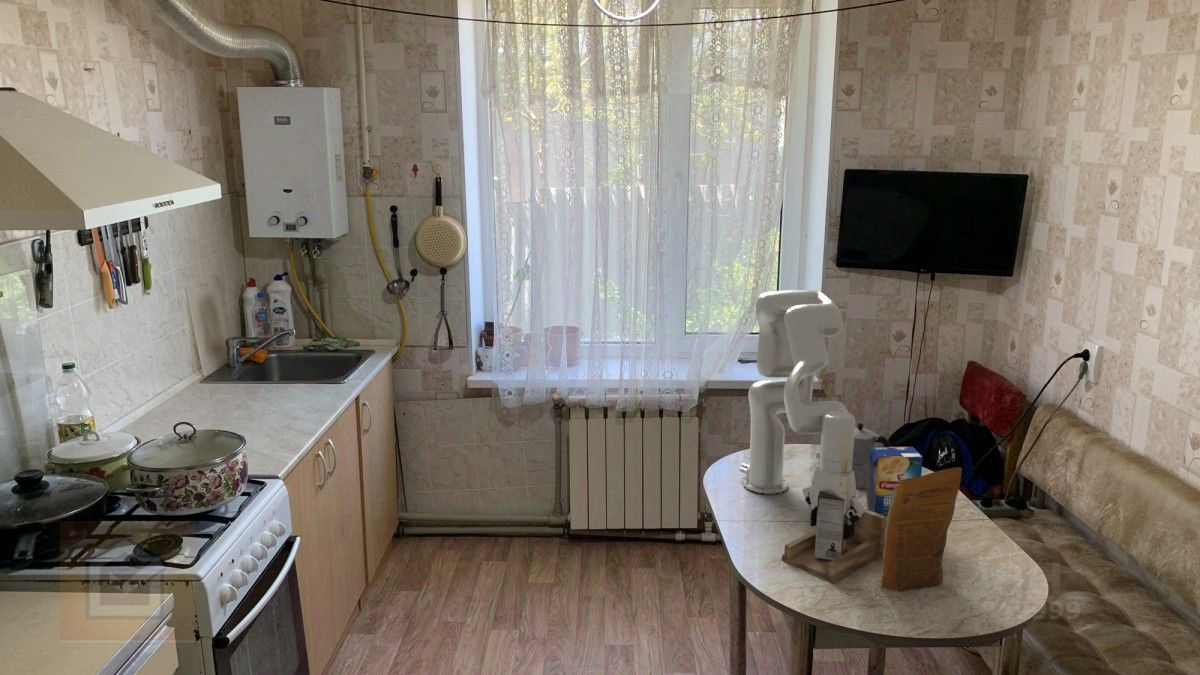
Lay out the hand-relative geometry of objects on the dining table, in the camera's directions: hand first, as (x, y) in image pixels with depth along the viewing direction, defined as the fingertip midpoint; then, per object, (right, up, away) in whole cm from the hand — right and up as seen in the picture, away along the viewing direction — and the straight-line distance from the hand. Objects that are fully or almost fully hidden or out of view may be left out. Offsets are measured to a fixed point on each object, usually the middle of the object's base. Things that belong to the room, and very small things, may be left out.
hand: (831, 531), depth 214 cm
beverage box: (+19, -4, +15) cm, 24 cm away
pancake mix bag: (+16, -10, -10) cm, 22 cm away
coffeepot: (+20, +4, +46) cm, 50 cm away
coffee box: (0, -5, +1) cm, 6 cm away
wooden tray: (+1, -7, +2) cm, 7 cm away
